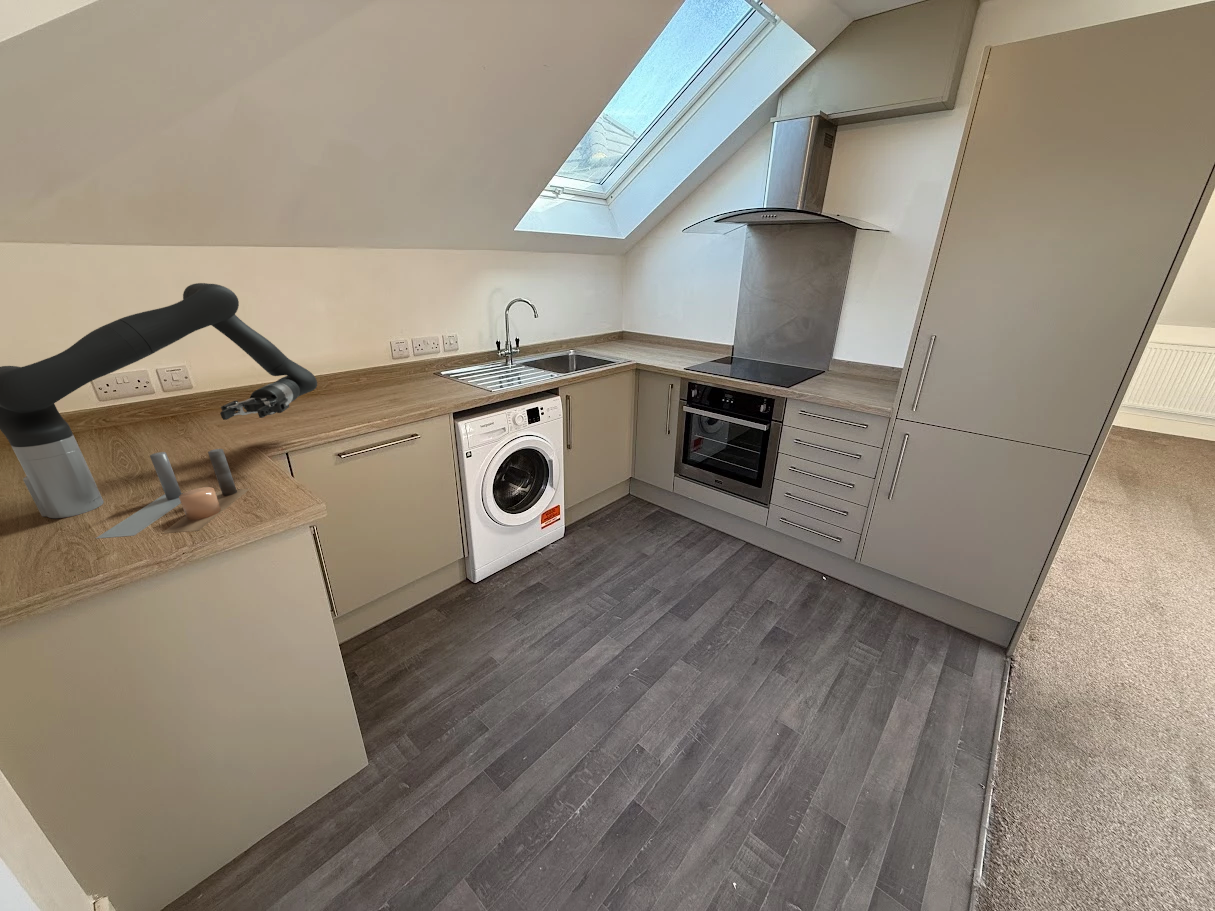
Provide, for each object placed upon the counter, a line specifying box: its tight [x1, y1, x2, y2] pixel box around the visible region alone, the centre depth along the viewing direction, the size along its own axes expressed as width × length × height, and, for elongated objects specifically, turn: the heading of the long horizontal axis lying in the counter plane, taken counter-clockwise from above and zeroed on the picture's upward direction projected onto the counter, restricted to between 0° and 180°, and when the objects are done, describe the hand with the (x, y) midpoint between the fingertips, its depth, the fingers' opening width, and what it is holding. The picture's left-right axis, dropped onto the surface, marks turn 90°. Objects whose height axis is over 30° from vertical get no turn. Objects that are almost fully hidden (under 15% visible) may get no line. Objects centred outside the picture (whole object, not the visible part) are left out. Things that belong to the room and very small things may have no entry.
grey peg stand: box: [95, 451, 184, 540], centre depth 104 cm, size 7×20×12 cm, turn 9°
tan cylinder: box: [179, 486, 221, 520], centre depth 105 cm, size 6×6×5 cm
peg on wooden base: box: [161, 448, 250, 534], centre depth 106 cm, size 7×20×12 cm, turn 9°
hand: (241, 415), depth 122 cm, fingers open, 8 cm apart
